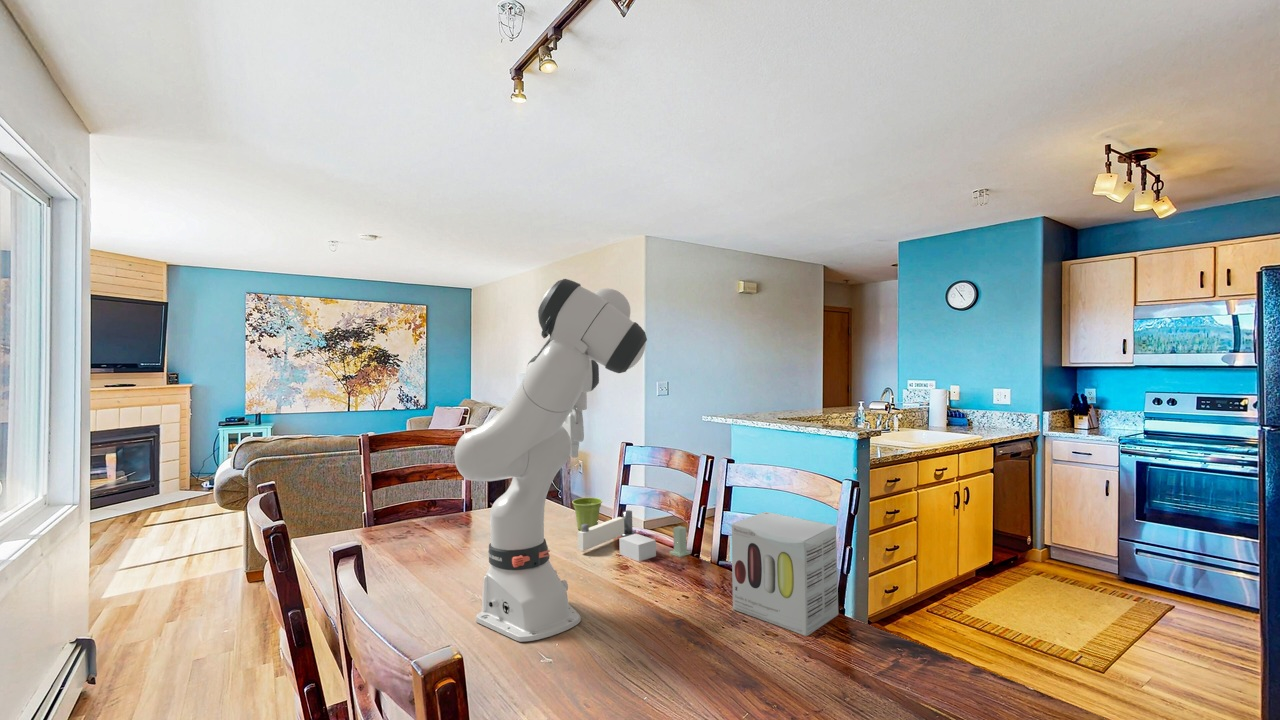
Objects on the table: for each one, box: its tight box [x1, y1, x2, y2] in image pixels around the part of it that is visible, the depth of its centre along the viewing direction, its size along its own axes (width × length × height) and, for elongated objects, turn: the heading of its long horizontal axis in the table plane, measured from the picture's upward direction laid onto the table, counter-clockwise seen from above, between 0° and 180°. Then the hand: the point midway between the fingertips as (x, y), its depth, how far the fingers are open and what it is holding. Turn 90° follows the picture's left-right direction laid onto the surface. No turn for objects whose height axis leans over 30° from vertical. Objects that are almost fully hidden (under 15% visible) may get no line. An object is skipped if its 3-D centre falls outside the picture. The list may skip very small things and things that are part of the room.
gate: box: [576, 516, 624, 552], centre depth 164 cm, size 18×2×6 cm, turn 144°
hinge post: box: [620, 509, 636, 538], centre depth 174 cm, size 4×4×7 cm
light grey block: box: [618, 533, 657, 562], centre depth 156 cm, size 8×6×4 cm
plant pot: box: [571, 497, 603, 531], centre depth 182 cm, size 9×9×9 cm
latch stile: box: [669, 525, 692, 558], centre depth 157 cm, size 6×4×7 cm
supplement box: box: [731, 511, 839, 637], centre depth 118 cm, size 17×13×18 cm
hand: (571, 454), depth 158 cm, fingers open, 8 cm apart
